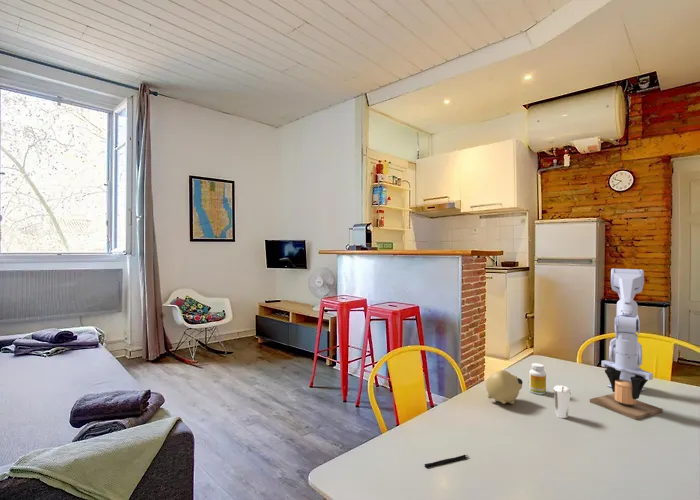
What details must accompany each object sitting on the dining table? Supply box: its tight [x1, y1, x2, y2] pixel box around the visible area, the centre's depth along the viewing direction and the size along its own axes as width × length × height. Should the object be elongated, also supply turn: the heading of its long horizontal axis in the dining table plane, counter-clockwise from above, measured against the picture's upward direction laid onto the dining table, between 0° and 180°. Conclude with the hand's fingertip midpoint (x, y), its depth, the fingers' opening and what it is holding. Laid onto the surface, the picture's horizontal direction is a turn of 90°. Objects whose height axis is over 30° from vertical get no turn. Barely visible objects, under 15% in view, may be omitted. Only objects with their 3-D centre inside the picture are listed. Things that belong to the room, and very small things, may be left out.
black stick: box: [423, 454, 470, 469], centre depth 90 cm, size 12×1×1 cm, turn 112°
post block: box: [589, 392, 663, 420], centre depth 123 cm, size 14×14×5 cm
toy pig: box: [485, 370, 524, 405], centre depth 126 cm, size 10×12×11 cm
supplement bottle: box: [528, 362, 547, 395], centre depth 135 cm, size 5×5×10 cm
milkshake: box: [553, 384, 572, 419], centre depth 115 cm, size 4×5×10 cm
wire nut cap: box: [614, 379, 637, 404], centre depth 123 cm, size 6×6×6 cm
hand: (625, 394), depth 123 cm, fingers closed on wire nut cap, 5 cm apart
